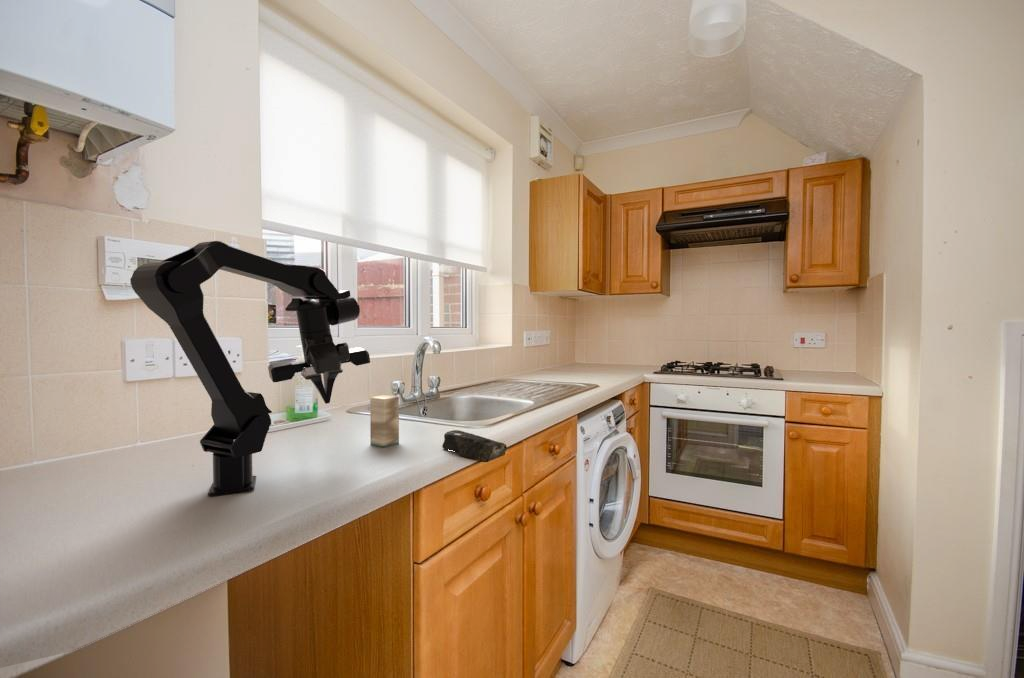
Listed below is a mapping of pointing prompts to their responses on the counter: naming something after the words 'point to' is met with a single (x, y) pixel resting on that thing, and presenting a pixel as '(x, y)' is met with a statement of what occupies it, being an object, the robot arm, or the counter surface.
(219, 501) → the counter surface
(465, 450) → the rock
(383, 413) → the block
